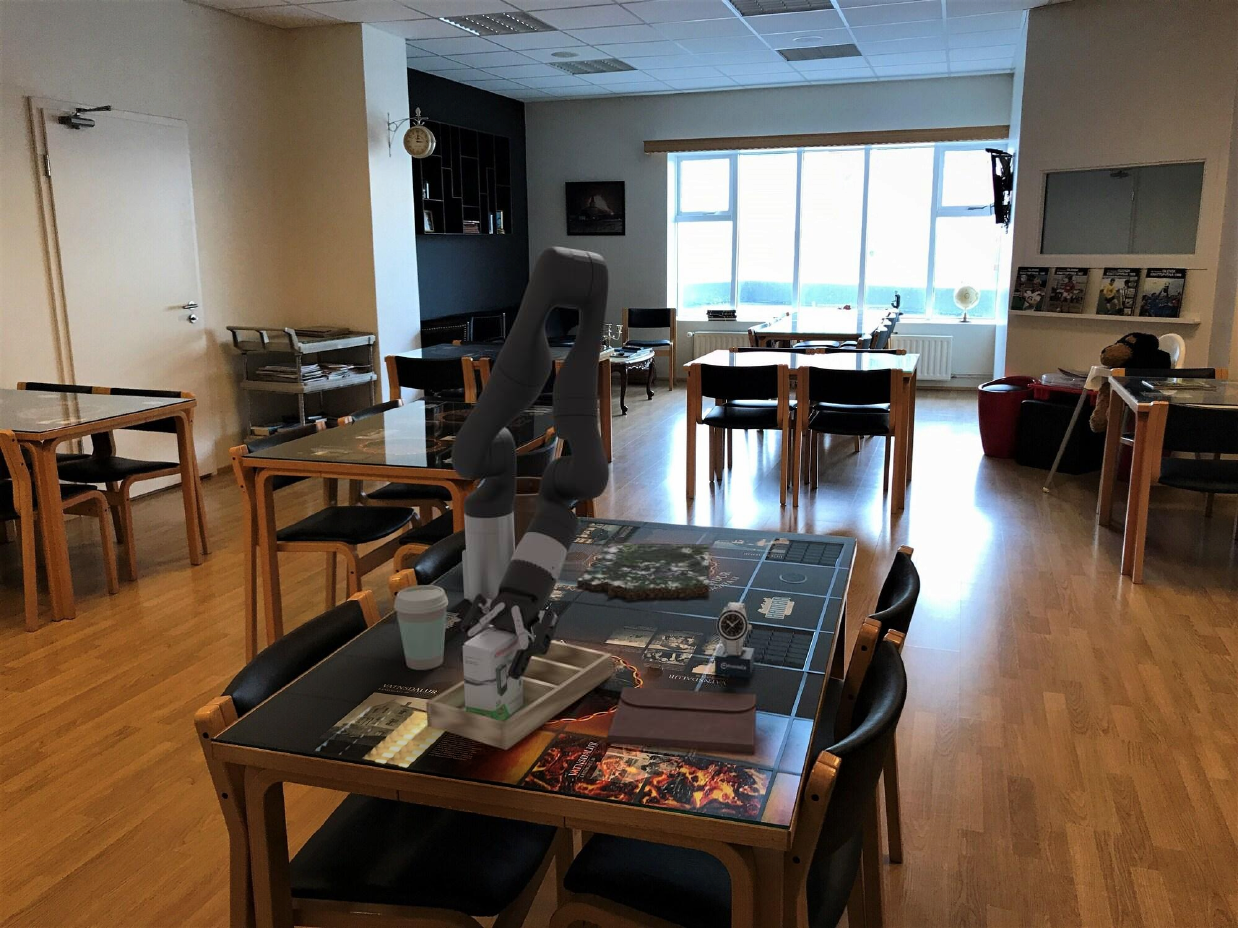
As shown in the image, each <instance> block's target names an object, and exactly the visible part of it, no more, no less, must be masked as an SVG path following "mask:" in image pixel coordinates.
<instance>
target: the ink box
mask: <svg viewBox="0 0 1238 928" xmlns="http://www.w3.org/2000/svg"><path fill="white" fill-rule="evenodd" d="M462 649H463V681H464V688H465V710H466V711H468V712H472V713H475V714H479V715H482V716H485V717H489V718H492V719H495V720H499V721H502V722H503V721H504V720H505V719H506V718H508V717H509V716H510V715H511V714H512V713H514V712H515V711H516V710H517V709H518V708H519V707H521V706H522V705H523V686H522V677H521V676H520V678H519V679H518V680H516V679H513V678H511V677H510V676H509V675H508V670H509V668H510V666H511V663H512V661H513V659H514V657H515V654H516V652H517V650H518V649H519V650H521V647H520V642H519V637H518V635H516V634H512V633H510V632H508V631H501V630H497V629H496V628H495V627H494V626H491V628H489V629H486V630H485V631H483V632H481V633H480V634H478V635H476V636H475V637H473V638H472V639H470V640H468V641H467V642H466V641H465V642H464V645H462Z"/></svg>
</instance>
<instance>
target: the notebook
mask: <svg viewBox="0 0 1238 928" xmlns="http://www.w3.org/2000/svg"><path fill="white" fill-rule="evenodd" d="M756 711H757V694H750V693H748V694H747V693H733V692H732V693H729V692H717V691H716V692H715V691H714V692H713V691H700V690H698V691H697V690H683V689H681V690H680V689H666V688H665V689H664V688H649V687H648V688H646V687H628V686H623V687H622V690H621V693H620V696H619V700H618V704H617V706H616V710H615V711H614V714H613V715H614V716H613V718H612V721H611V723H610V726H609V730H608V733H607V738H606V742H607V744H610V745H612V744H613V745H624V746H625V745H627V746H643V747H657V748H659V747H660V748H670V749H671V748H672V749H687V750H688V749H689V750H703V751H719V752H730V753H731V752H735V753H747V754H755V739H756V736H755V735H756V716H757V715H756Z"/></svg>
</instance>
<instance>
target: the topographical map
mask: <svg viewBox="0 0 1238 928" xmlns="http://www.w3.org/2000/svg"><path fill="white" fill-rule="evenodd" d="M577 588H581V589H582V588H585V589H587V590H591V591H592V592H596V591H598V592H603V591H606V592H608V594H607V595H608V598H609V599H612V598H614V597H615V598H616V597H623V598H624V599H625V598H626V599H627V601H637V600H641V599H654V598H657V599H658V598H663V599H664V598H665V599H666V598H667V599H675V598H683V599H690V598H695V597H707V598H708V597H710V544H709V543H707V544H706V543H704V544H701V543H700V544H698V543H697V544H694V543H693V544H692V543H628V542H627V543H626V542H625V543H624V542H623V543H617V542H616V543H615V542H612V543H609V542H608V544H607V545H606V546H605V547H604V548H603V550H602V551H601V553H599V555H598V556H597V557H596V558H595V560H594V561H593V562H592V563H591V565H590V566H589V567H586V569H585V570H584V571H583V573H582V575H580V576H579V577H578V579H577Z"/></svg>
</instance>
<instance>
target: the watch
mask: <svg viewBox="0 0 1238 928" xmlns="http://www.w3.org/2000/svg"><path fill="white" fill-rule="evenodd" d="M716 630H717V633H718V635H719V639H720V642H721V644H720V645H719V646H718V649H717V651H716V653H715V655H714V675H717V676H718V675H719V676H727V677H737V678H746V679H747V678H748V679H750V678H751V676H752V674H753V670H754V668H755V648H754V647H745V646H743V645H744V644H745V638H746V636H747V634H748V631H751V630H752V624H749V621H748V617H747V612H746V604H745V603H742V602H731V601H729V602H728V603H727V606H724V608H723V610H722V612H721V613H720V615H719V616H718V618H717V619H716Z"/></svg>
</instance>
